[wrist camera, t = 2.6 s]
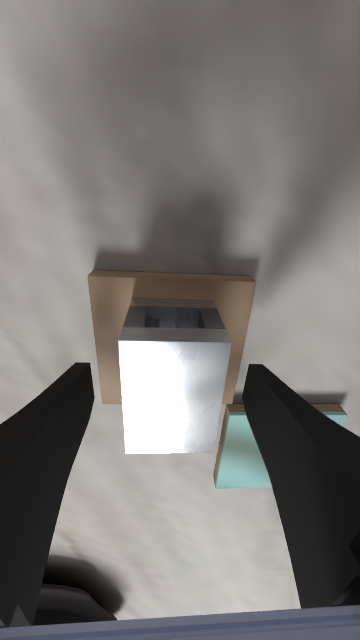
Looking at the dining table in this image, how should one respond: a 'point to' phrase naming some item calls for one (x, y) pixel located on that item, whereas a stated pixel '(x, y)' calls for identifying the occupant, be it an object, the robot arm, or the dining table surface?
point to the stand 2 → (249, 449)
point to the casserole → (68, 606)
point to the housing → (172, 374)
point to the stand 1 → (120, 286)
